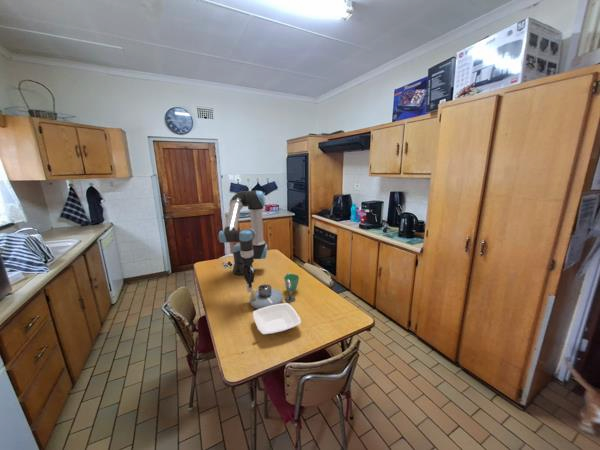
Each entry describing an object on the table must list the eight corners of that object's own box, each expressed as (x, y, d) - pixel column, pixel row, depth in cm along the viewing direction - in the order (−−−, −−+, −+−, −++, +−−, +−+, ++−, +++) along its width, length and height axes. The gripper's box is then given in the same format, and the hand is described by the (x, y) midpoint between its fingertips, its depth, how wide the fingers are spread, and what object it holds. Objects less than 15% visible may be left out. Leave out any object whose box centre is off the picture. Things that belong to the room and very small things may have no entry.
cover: (256, 293, 152) (256, 286, 151) (268, 290, 157) (267, 283, 156) (261, 299, 146) (261, 291, 145) (273, 295, 150) (273, 288, 149)
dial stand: (284, 299, 154) (284, 279, 151) (291, 297, 156) (291, 277, 153) (288, 302, 150) (287, 282, 146) (295, 300, 152) (294, 280, 149)
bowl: (261, 347, 114) (261, 336, 112) (250, 319, 135) (250, 310, 133) (304, 333, 122) (304, 323, 121) (288, 309, 143) (288, 300, 142)
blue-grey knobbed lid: (245, 297, 154) (244, 283, 151) (274, 288, 163) (273, 276, 161) (256, 313, 137) (255, 298, 135) (287, 302, 147) (287, 288, 144)
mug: (300, 293, 161) (300, 279, 159) (286, 295, 158) (286, 281, 156) (294, 283, 175) (294, 270, 172) (281, 285, 172) (281, 272, 170)
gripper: (236, 254, 148) (239, 289, 154) (246, 260, 138) (249, 297, 144) (247, 251, 153) (250, 285, 158) (258, 257, 143) (260, 293, 149)
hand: (249, 291), depth 151 cm, fingers closed
